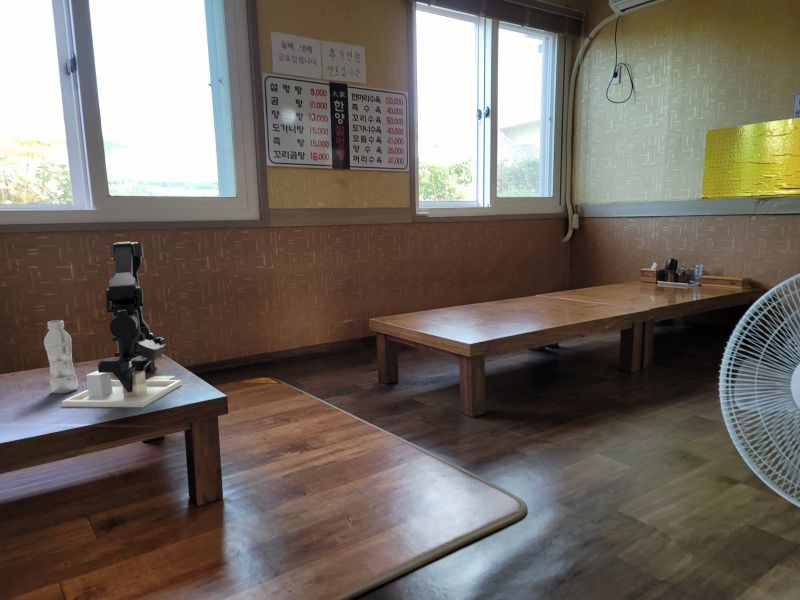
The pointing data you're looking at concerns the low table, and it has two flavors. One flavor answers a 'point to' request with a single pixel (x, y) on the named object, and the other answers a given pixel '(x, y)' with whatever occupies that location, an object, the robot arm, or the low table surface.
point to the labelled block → (137, 385)
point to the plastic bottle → (60, 358)
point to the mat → (161, 378)
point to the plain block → (99, 384)
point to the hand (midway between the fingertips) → (135, 389)
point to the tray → (117, 397)
